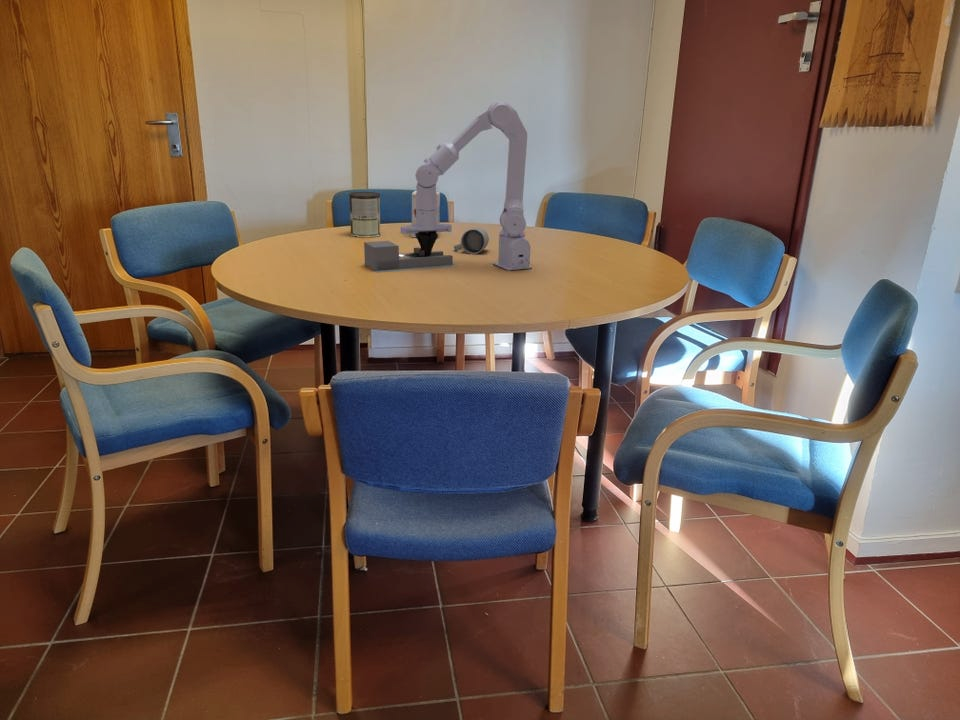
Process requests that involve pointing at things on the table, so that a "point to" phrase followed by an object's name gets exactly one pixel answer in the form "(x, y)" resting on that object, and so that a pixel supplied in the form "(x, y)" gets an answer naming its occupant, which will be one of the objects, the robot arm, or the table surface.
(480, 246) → the ceramic mug
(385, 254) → the grey slotted fixture
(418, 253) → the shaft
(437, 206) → the supplement box
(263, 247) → the table surface
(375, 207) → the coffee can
